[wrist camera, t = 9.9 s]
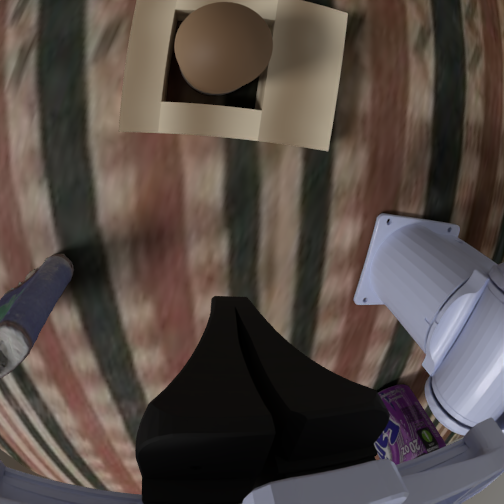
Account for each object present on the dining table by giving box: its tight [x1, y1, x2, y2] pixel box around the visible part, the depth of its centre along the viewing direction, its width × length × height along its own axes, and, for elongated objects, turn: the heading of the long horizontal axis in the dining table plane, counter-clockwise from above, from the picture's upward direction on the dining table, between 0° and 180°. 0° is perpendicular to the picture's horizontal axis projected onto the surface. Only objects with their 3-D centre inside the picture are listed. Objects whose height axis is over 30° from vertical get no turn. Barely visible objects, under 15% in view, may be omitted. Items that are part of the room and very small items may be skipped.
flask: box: [0, 254, 74, 378], centre depth 17 cm, size 9×3×11 cm, turn 117°
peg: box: [174, 2, 273, 96], centre depth 14 cm, size 4×4×7 cm
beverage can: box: [374, 385, 446, 465], centre depth 29 cm, size 7×7×12 cm
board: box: [119, 0, 348, 151], centre depth 16 cm, size 12×9×2 cm
